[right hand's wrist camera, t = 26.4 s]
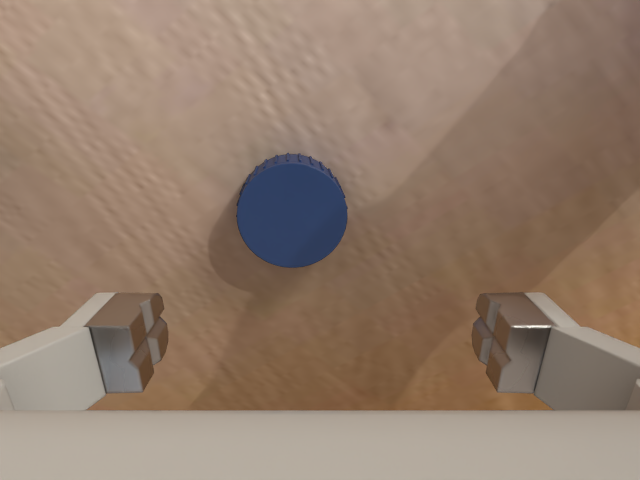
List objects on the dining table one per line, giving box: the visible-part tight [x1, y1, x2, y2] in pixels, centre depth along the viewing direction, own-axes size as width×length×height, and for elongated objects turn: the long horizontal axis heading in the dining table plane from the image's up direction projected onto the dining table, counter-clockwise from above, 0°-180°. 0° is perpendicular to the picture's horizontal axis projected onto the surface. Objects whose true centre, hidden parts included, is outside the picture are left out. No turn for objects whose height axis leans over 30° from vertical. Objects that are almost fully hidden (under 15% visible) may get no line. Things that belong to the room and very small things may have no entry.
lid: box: [236, 153, 347, 268], centre depth 20 cm, size 5×5×2 cm
